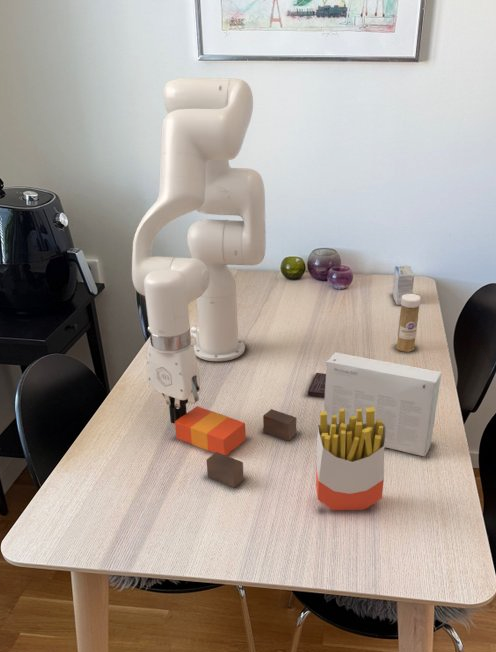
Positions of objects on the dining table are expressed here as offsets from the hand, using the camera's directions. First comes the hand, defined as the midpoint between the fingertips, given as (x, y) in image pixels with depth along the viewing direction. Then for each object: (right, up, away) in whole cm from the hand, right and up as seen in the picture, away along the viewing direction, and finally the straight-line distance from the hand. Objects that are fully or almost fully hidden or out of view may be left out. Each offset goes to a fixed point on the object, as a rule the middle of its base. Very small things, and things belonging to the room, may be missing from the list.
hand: (179, 420), depth 135 cm
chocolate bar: (+37, +7, +13) cm, 39 cm away
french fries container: (+32, -15, -19) cm, 40 cm away
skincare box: (+40, -4, -3) cm, 40 cm away
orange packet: (+7, -4, -3) cm, 8 cm away
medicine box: (+56, +37, +56) cm, 87 cm away
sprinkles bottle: (+52, +19, +30) cm, 63 cm away
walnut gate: (+15, -7, -7) cm, 18 cm away
